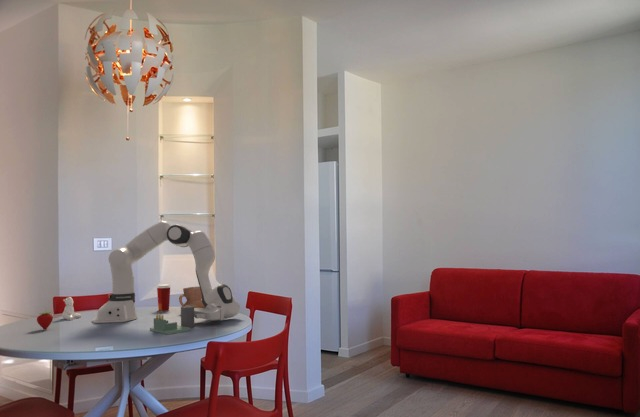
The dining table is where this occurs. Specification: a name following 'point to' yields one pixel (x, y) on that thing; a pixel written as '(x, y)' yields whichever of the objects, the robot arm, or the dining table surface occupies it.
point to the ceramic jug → (192, 297)
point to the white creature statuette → (69, 310)
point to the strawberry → (44, 320)
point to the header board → (167, 326)
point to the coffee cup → (163, 297)
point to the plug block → (187, 316)
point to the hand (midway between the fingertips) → (190, 315)
